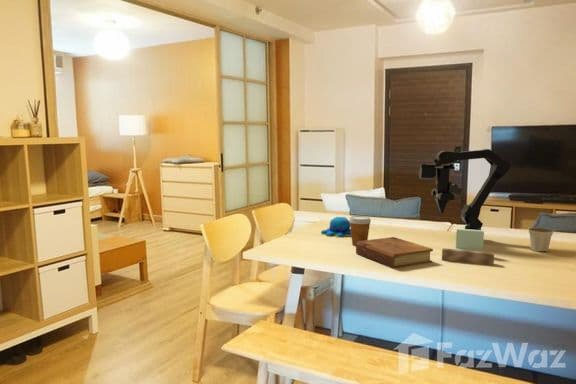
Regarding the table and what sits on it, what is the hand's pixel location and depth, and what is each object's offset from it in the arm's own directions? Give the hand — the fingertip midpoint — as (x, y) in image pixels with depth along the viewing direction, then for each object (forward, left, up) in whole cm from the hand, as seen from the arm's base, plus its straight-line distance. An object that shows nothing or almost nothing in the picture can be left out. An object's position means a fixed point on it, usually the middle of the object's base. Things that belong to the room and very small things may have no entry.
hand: (442, 213), depth 209 cm
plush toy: (+40, -26, -12) cm, 49 cm away
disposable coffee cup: (+40, -1, -12) cm, 42 cm away
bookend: (+8, +30, -12) cm, 34 cm away
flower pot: (-26, +30, -12) cm, 42 cm away
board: (+13, +36, -12) cm, 40 cm away
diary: (+37, +23, -13) cm, 45 cm away
